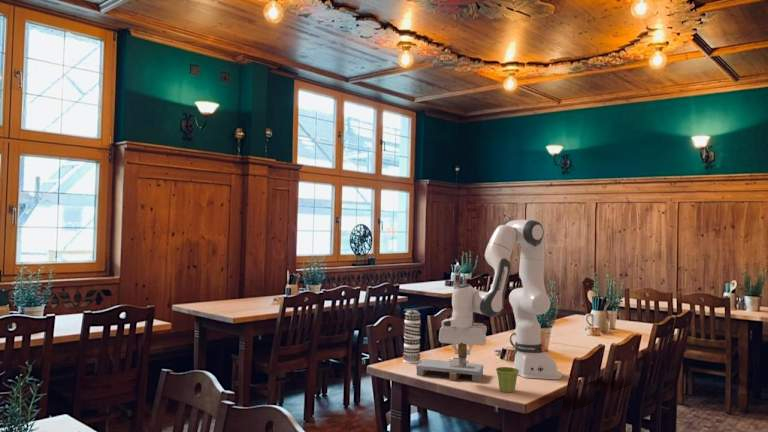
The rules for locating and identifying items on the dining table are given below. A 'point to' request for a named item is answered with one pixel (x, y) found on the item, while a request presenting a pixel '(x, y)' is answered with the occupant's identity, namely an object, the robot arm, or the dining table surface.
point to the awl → (462, 354)
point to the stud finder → (456, 362)
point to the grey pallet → (450, 369)
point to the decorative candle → (412, 337)
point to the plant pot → (507, 378)
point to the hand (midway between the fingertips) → (462, 354)
